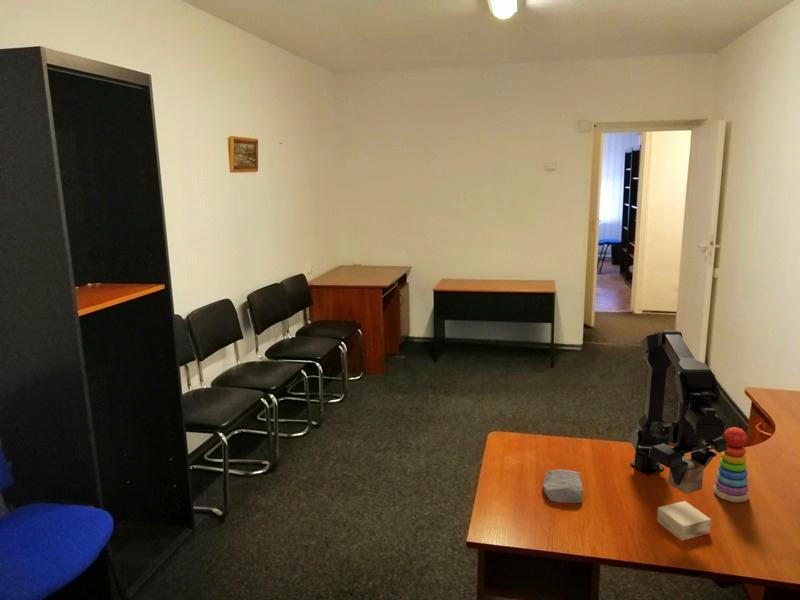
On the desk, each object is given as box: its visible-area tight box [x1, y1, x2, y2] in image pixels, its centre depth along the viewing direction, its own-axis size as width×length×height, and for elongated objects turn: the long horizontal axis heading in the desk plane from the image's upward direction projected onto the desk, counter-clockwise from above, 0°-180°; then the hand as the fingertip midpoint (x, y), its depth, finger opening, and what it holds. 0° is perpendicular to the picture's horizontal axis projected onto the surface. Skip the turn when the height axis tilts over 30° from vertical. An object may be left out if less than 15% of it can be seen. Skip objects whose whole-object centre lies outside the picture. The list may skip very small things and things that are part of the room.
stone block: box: [542, 469, 584, 504], centre depth 156 cm, size 12×5×10 cm
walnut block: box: [668, 455, 705, 495], centre depth 136 cm, size 5×5×6 cm
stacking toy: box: [713, 426, 750, 503], centre depth 149 cm, size 8×8×19 cm
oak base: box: [656, 500, 712, 541], centre depth 139 cm, size 8×8×4 cm
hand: (685, 481), depth 137 cm, fingers closed on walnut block, 5 cm apart
